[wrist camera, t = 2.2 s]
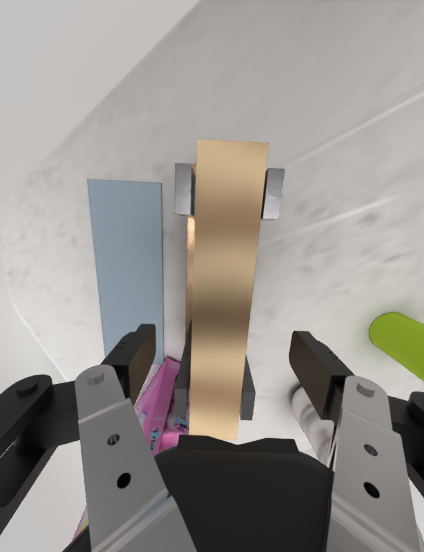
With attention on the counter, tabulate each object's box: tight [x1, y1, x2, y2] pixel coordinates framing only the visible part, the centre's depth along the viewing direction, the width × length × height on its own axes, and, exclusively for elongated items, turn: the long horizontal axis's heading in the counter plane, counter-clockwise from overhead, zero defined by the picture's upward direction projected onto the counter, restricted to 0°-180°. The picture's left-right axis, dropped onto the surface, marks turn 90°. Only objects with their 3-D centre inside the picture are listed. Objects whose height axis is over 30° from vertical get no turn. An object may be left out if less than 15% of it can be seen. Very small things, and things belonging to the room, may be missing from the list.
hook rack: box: [175, 163, 285, 420], centre depth 21 cm, size 26×8×13 cm, turn 177°
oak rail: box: [189, 139, 269, 440], centre depth 16 cm, size 22×4×4 cm, turn 177°
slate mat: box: [87, 179, 164, 364], centre depth 28 cm, size 26×9×1 cm, turn 177°
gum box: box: [72, 358, 190, 541], centre depth 27 cm, size 24×8×14 cm, turn 149°
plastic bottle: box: [292, 387, 424, 552], centre depth 23 cm, size 6×7×20 cm
